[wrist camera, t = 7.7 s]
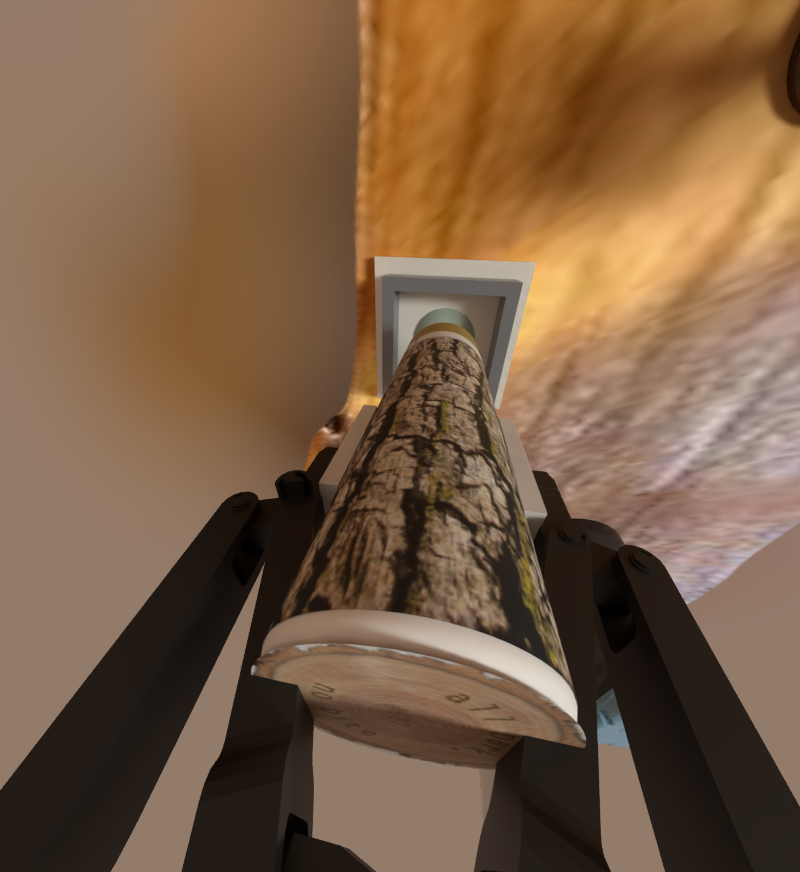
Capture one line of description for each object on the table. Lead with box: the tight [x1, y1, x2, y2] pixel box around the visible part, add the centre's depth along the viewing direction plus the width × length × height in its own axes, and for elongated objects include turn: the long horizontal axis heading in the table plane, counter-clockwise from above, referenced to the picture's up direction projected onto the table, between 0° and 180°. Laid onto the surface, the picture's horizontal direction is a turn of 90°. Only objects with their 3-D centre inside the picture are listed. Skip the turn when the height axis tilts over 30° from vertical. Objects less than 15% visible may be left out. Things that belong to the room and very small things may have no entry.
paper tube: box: [251, 322, 586, 770], centre depth 16 cm, size 7×7×25 cm
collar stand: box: [375, 256, 536, 409], centre depth 32 cm, size 16×16×4 cm
